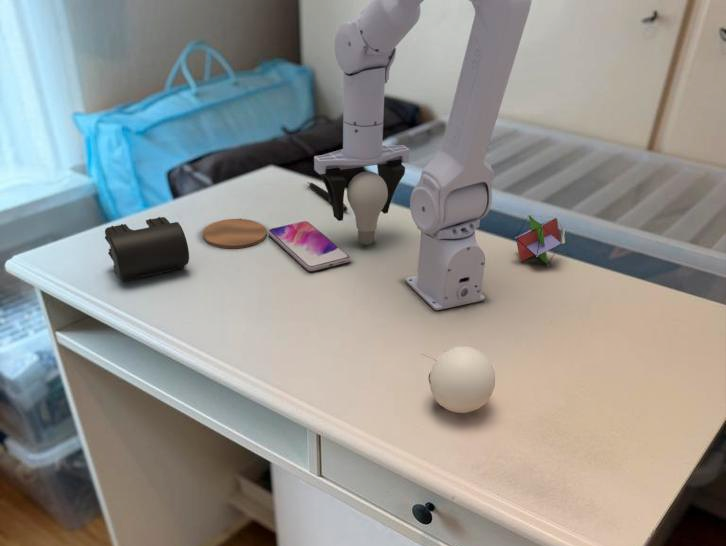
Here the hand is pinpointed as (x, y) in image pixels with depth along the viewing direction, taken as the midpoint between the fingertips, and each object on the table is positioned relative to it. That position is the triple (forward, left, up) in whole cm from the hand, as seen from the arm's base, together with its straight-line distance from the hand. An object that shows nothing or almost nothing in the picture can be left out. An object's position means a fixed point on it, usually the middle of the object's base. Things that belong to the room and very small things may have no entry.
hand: (360, 214), depth 111 cm
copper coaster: (+9, +18, -4) cm, 20 cm away
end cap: (+1, +33, -4) cm, 33 cm away
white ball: (-43, +8, -4) cm, 44 cm away
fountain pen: (+17, -1, -4) cm, 18 cm away
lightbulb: (-2, 0, -4) cm, 5 cm away
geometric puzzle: (-17, -22, -4) cm, 28 cm away
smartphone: (0, +9, -4) cm, 10 cm away
